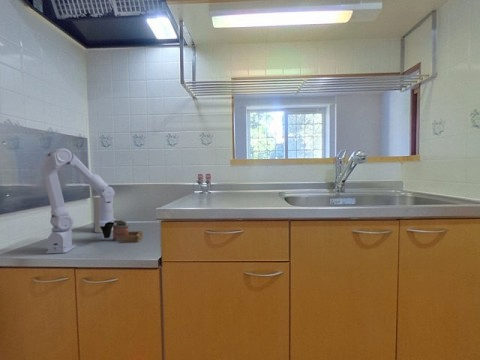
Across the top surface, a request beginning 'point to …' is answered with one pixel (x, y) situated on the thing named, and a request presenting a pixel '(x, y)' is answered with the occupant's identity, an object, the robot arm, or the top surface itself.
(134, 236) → the lighter dock
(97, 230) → the container
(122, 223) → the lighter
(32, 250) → the top surface
